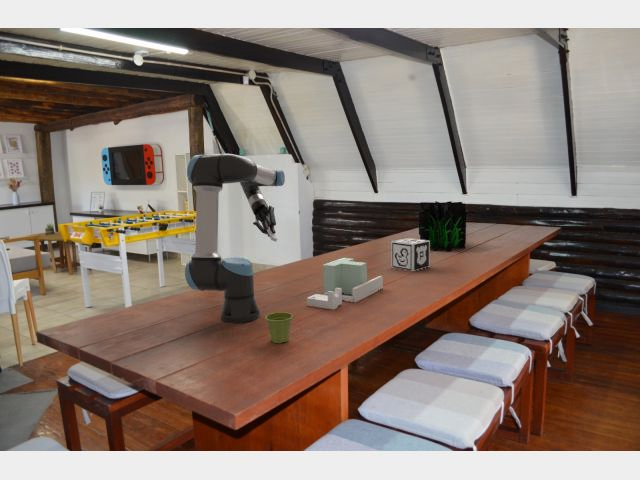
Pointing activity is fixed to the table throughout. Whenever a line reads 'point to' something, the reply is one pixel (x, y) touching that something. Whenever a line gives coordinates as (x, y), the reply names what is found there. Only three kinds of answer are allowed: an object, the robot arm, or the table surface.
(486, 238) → the table surface
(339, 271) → the t block
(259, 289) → the table surface
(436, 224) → the decorative plant
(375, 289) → the white u channel
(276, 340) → the plant pot
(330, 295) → the bracket
